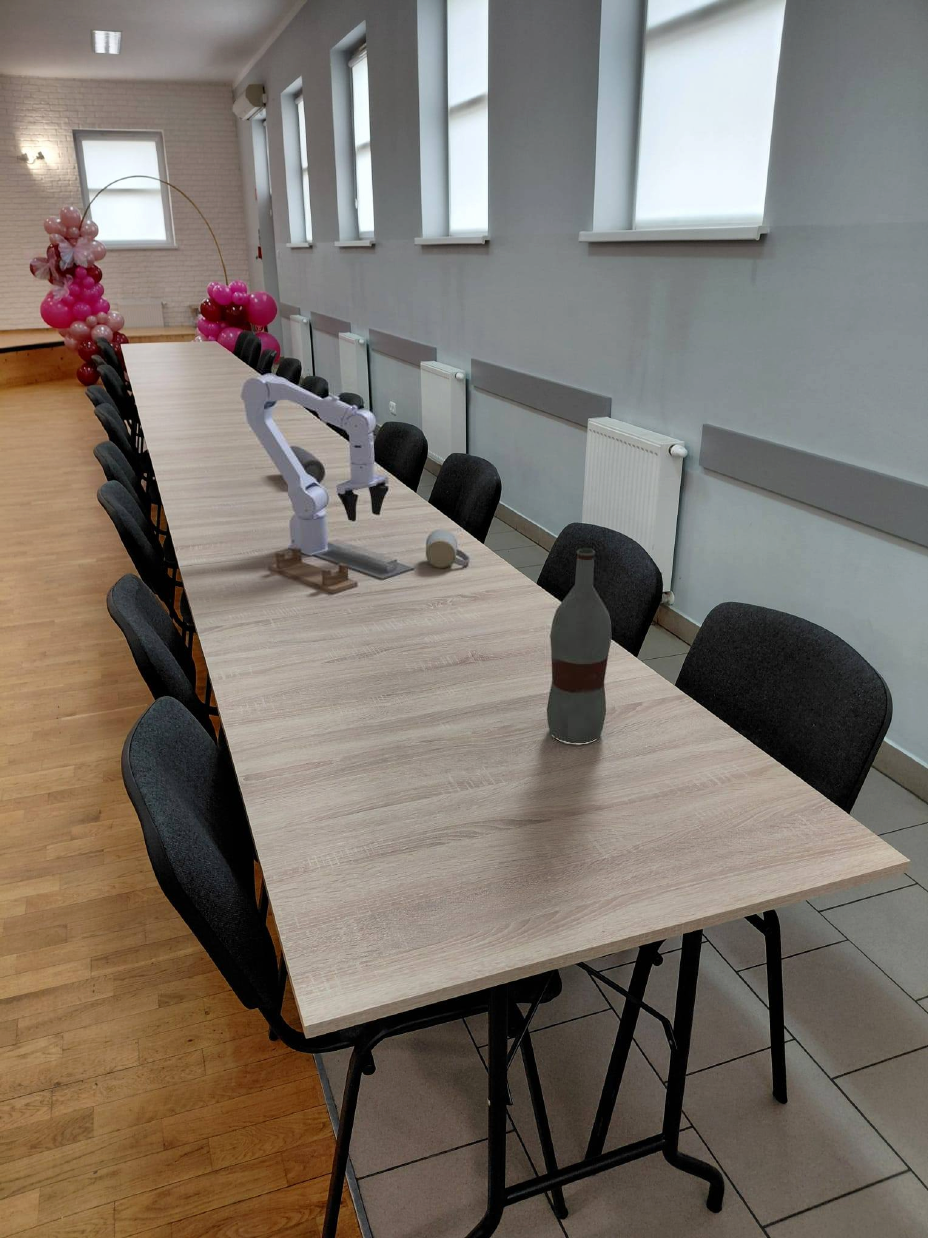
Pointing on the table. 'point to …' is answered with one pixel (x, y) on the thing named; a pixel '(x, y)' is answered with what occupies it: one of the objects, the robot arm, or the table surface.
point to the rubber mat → (364, 566)
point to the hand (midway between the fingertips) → (364, 517)
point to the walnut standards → (312, 572)
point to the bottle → (579, 659)
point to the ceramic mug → (444, 550)
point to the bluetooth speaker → (309, 463)
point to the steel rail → (362, 555)
